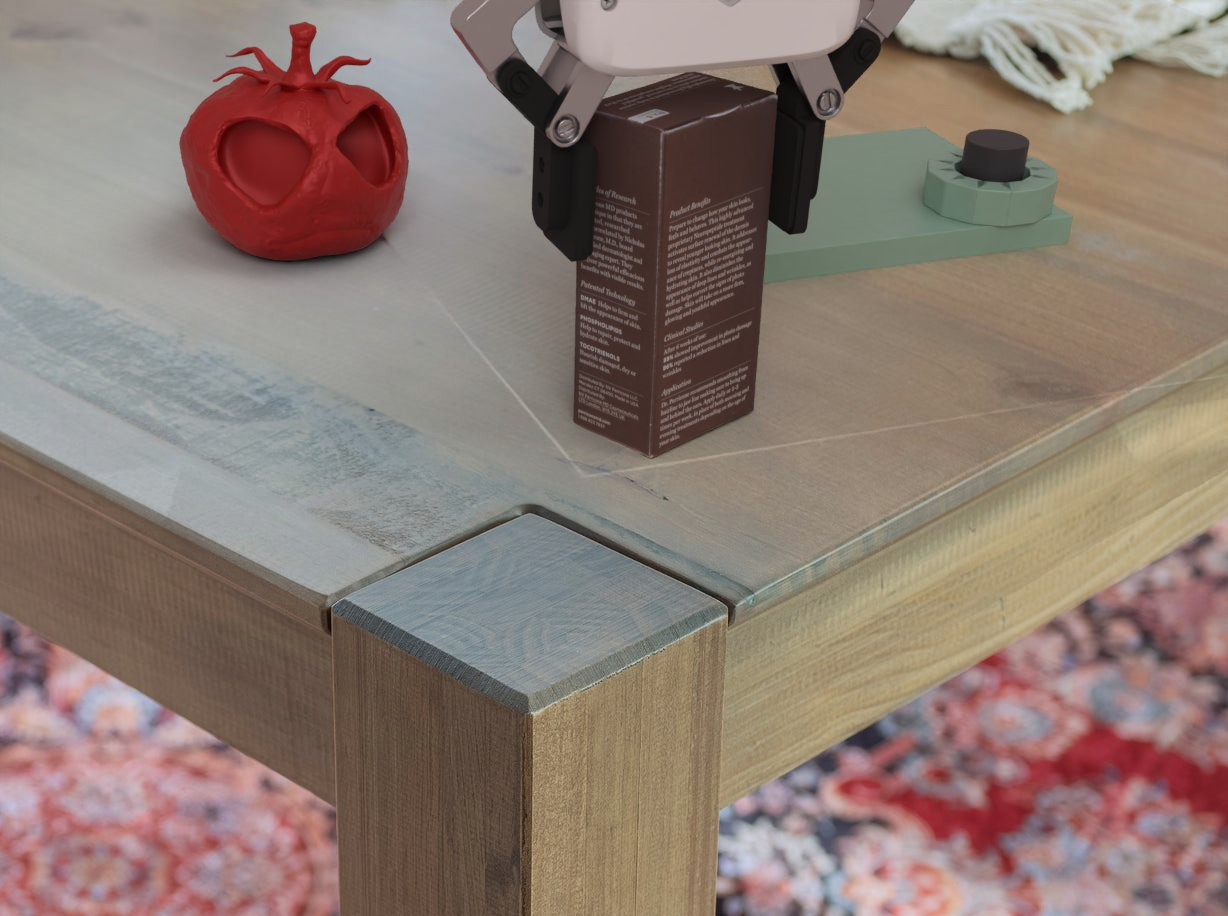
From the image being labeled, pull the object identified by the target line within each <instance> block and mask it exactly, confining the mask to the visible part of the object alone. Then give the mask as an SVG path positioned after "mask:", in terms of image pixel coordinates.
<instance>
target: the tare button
mask: <svg viewBox="0 0 1228 916" xmlns="http://www.w3.org/2000/svg"><path fill="white" fill-rule="evenodd" d="M963 149H964V151H963V157H962V163H961V169H960V174H962V175H963V176H966V177H970V178H973V179H977V180H981V181H987V182H1001V183H1007V182H1016V181H1022V180H1023V176H1024V171H1025V165H1026V160H1027V155H1029V149H1030V139H1029V138H1028V137H1026V136H1025V135H1023V134H1021V133H1018V132H1015V131H1010V130H1005V129H999V128H986V129H985V128H982V129H976V130H973V131H970V132H968V133H967V134H966V135H965V139H964V145H963Z"/></svg>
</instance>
